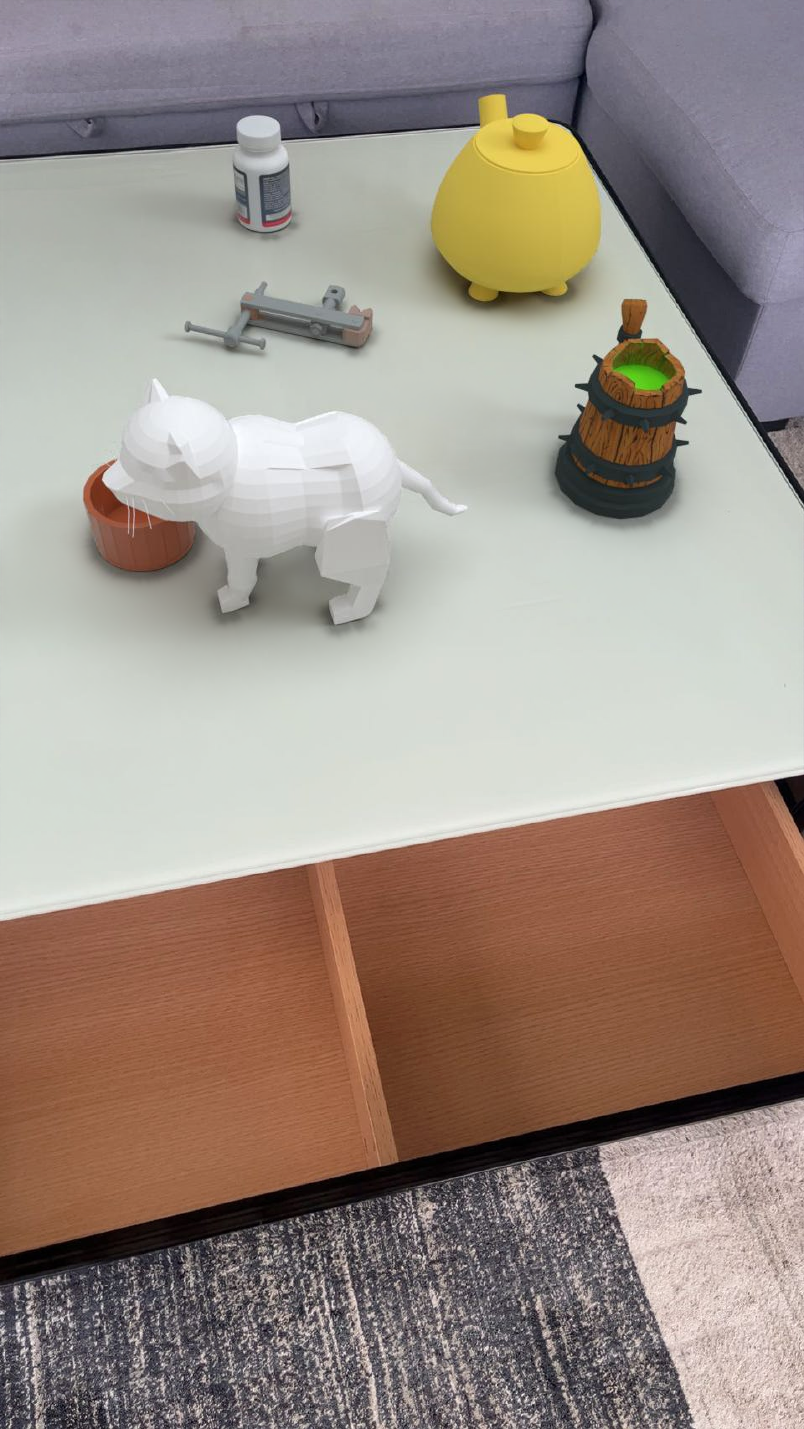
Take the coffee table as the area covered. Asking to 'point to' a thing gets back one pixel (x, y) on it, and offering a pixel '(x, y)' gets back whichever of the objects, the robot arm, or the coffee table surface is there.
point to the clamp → (352, 322)
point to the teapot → (517, 206)
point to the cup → (140, 548)
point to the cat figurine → (270, 490)
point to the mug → (626, 426)
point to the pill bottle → (261, 175)
